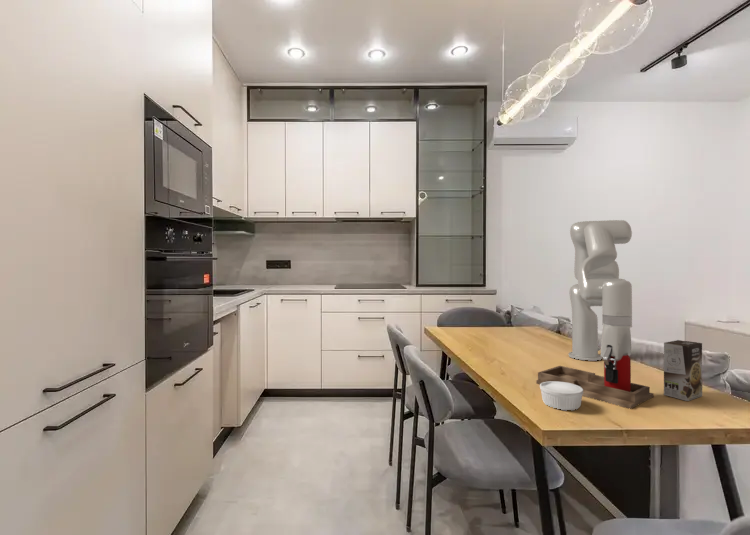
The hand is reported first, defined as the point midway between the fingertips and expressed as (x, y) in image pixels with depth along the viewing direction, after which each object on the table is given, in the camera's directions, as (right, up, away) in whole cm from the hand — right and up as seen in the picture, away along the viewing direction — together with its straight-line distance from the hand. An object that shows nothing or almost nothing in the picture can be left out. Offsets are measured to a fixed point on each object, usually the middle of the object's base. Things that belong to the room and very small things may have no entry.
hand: (617, 379), depth 112 cm
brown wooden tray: (-4, -5, +6) cm, 9 cm away
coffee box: (+20, -5, 0) cm, 20 cm away
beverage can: (0, -4, 0) cm, 4 cm away
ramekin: (-20, -6, -6) cm, 22 cm away
